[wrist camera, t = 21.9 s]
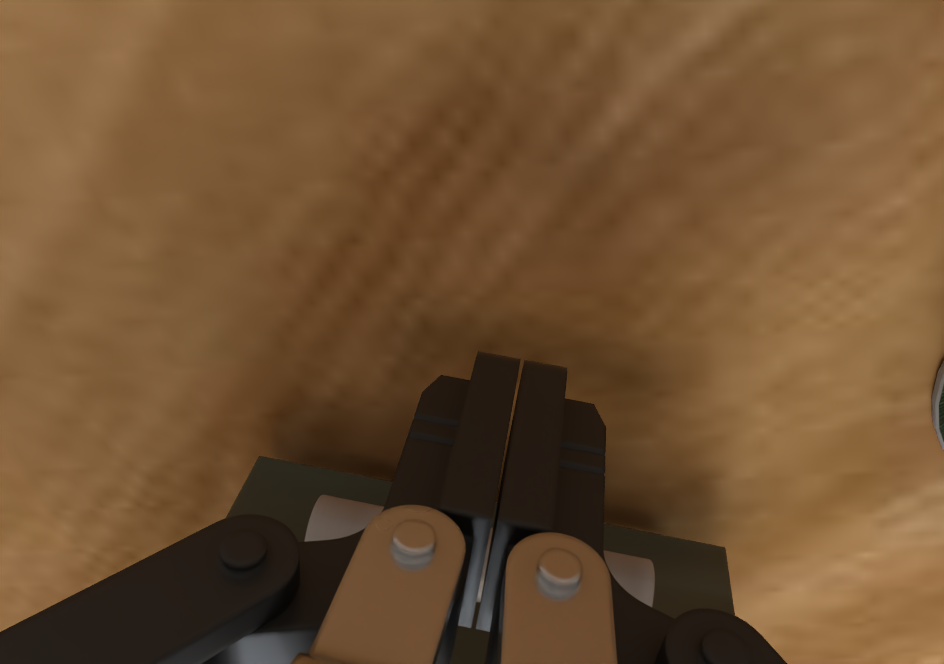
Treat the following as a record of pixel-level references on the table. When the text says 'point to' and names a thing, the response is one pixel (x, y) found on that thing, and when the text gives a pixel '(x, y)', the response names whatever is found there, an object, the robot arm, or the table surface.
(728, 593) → the drawer
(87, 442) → the table surface
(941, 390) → the canned tomato
